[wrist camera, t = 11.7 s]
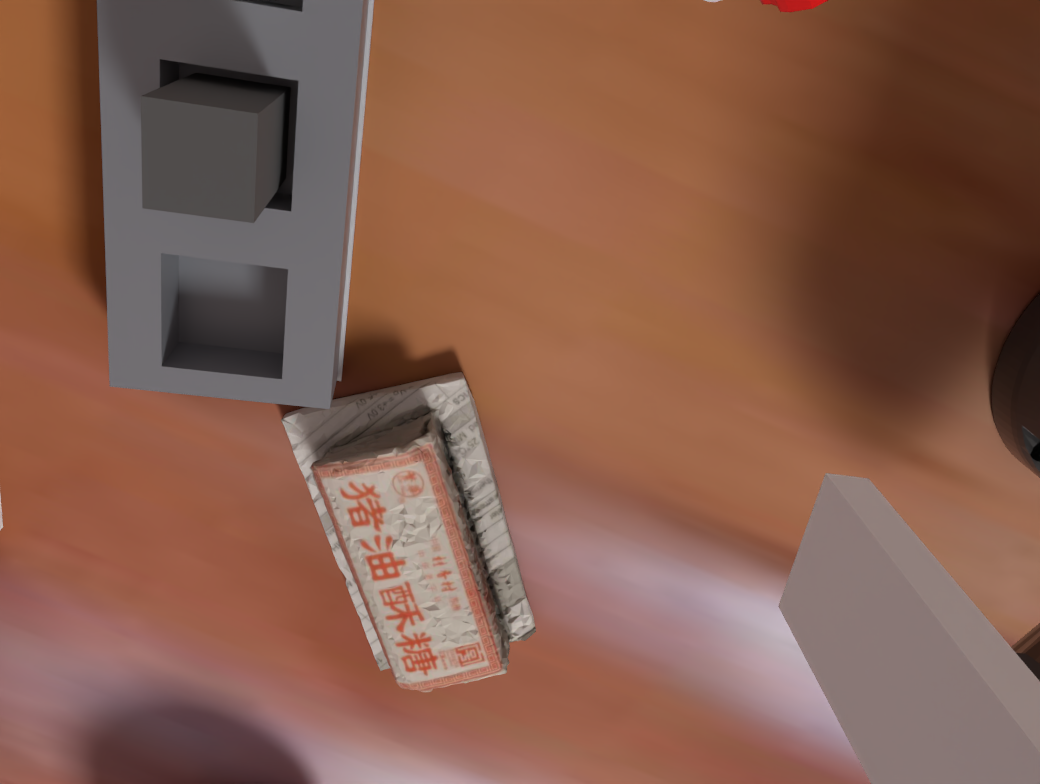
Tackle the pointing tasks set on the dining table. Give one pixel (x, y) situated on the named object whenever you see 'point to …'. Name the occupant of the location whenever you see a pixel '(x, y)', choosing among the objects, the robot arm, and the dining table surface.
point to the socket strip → (227, 243)
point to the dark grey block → (214, 146)
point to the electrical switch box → (790, 4)
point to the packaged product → (417, 528)
